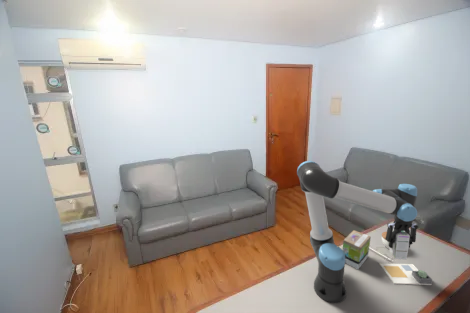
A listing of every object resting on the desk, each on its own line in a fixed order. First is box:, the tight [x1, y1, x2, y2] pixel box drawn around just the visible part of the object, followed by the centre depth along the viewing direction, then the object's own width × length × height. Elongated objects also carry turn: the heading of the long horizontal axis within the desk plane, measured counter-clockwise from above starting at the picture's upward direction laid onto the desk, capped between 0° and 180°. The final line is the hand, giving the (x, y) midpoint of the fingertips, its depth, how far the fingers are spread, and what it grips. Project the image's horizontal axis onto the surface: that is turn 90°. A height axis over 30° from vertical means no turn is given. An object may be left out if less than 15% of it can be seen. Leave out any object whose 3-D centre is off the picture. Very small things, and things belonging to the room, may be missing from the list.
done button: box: [417, 269, 428, 278], centre depth 114 cm, size 4×4×3 cm
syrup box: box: [390, 228, 410, 260], centre depth 116 cm, size 6×6×14 cm
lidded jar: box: [381, 231, 390, 250], centre depth 140 cm, size 11×11×9 cm
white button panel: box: [379, 263, 433, 286], centre depth 119 cm, size 18×14×3 cm
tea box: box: [341, 229, 371, 270], centre depth 130 cm, size 15×10×15 cm, turn 131°
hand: (398, 252), depth 118 cm, fingers closed on syrup box, 6 cm apart
